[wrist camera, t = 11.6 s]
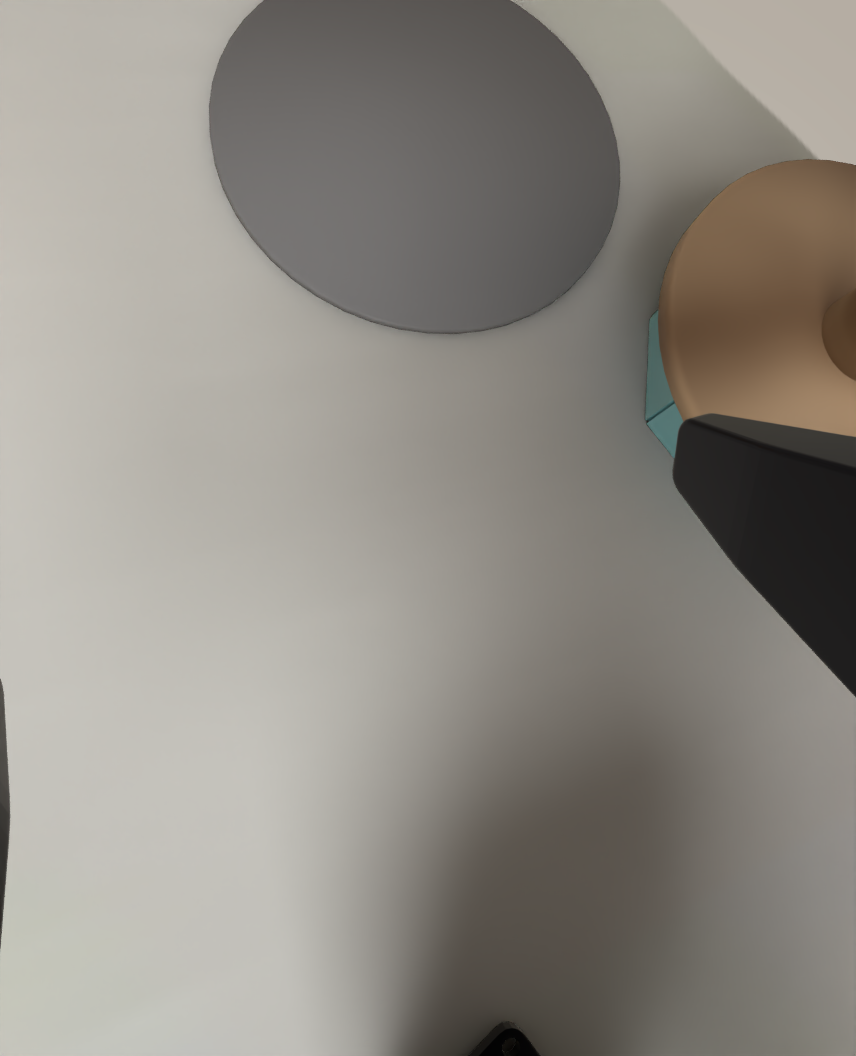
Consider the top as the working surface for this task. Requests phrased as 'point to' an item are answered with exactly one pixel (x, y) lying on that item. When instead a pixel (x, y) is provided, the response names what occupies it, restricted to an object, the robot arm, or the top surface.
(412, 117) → the mat
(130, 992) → the top surface
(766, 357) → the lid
